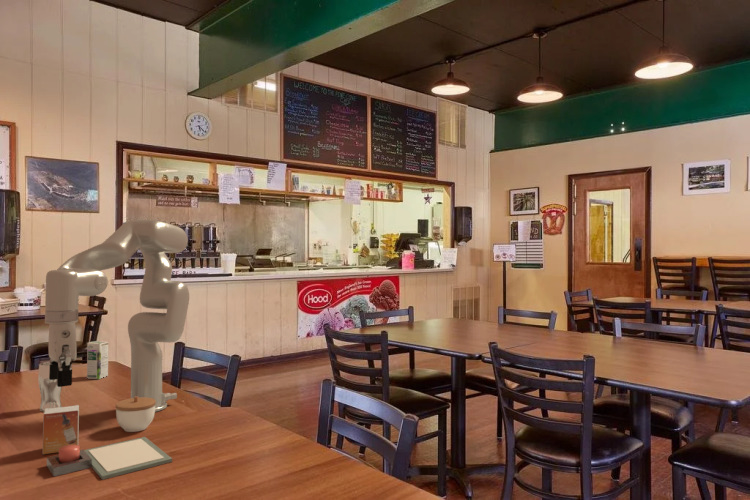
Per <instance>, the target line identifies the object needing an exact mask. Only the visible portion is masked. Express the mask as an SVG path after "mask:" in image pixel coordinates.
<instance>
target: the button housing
mask: <svg viewBox="0 0 750 500" xmlns="http://www.w3.org/2000/svg"><path fill="white" fill-rule="evenodd" d="M84 450H85V449H80V459H79V460H76V461H72V462H67V463H60V462H59V454H57V455H52V456H49V457H46V466H47V469H48V470H49V472H50V473H51V475H52V476H53V477H58V476H63V475H65V474H69V473H74V472H77V471H82V470H88V469H93V468H92V459H91V458H90V456H89V455H88V454H87V453H86V452H85V451H84Z"/></svg>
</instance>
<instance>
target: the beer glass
mask: <svg viewBox="0 0 750 500" xmlns="http://www.w3.org/2000/svg"><path fill="white" fill-rule="evenodd" d="M50 365H52V364H50V361H45V362H41V363H39V365H38V379H37V381H38V386H39V392H40V401H41V402H40V406H39V411H40V412H43V413H44V412H45V409H47V408H59V407H62V402H61V393H62V389H63V387H58V386H57V379H55V380H50V379H49V370H50Z"/></svg>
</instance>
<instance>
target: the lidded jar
mask: <svg viewBox="0 0 750 500" xmlns="http://www.w3.org/2000/svg"><path fill="white" fill-rule="evenodd" d="M155 404H156V400H155V399H153V398H147V397H139V398H138V396H135V397H134V398H131V397H130V398H127V399H123V400H120V401H117V402H116V404H115V416H116V417H115V418H116V421H117V423H118V425H119V427H121V429H123V430H124V432H127V433H137V432H141V431H144V430H146V429H148V427H149V425H150V424H151V423H152V422H153V420H154V418H155V414H156V412H155Z"/></svg>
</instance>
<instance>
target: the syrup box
mask: <svg viewBox="0 0 750 500" xmlns="http://www.w3.org/2000/svg"><path fill="white" fill-rule="evenodd" d="M86 347H87V348H86V350H87V351H86V353H87V354H86V356H87V358H86V359H87V360H86V361H87V362H86V363H87V364H86V379H87V378H88V379H87V380H89V379H90V380H102V379H104V378H107V377H108V376H109V341H100V340H95V341H90V342H87V345H86ZM106 376H107V377H106ZM103 377H104V378H103ZM101 378H102V379H101Z"/></svg>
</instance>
